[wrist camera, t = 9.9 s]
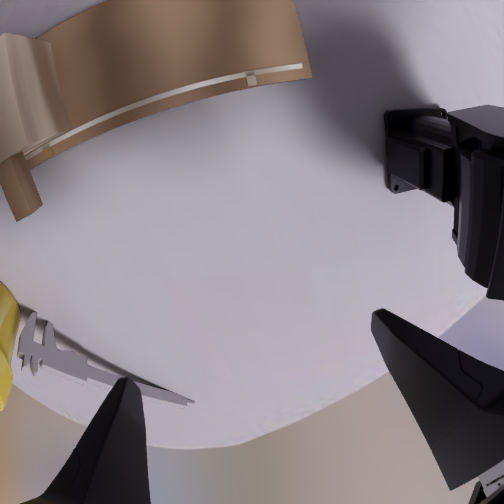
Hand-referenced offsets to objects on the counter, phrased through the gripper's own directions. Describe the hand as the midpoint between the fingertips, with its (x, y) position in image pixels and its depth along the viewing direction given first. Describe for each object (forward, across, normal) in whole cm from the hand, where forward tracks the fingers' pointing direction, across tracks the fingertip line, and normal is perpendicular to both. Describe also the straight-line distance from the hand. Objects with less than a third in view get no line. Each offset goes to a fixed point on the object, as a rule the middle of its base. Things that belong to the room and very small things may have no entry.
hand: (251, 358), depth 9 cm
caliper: (+12, +15, +12) cm, 23 cm away
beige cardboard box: (+10, +9, -11) cm, 17 cm away
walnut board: (+12, +3, -12) cm, 17 cm away
